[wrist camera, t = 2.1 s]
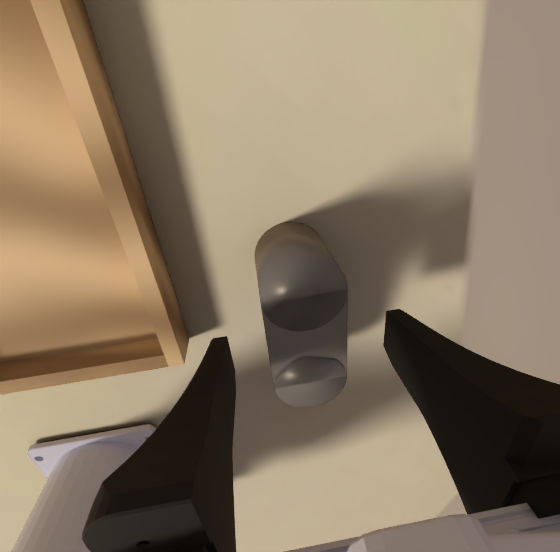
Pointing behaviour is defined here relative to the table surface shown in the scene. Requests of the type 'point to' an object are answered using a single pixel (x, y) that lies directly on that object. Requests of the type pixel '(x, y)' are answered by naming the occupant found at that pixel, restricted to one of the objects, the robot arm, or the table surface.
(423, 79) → the table surface
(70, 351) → the oak tray
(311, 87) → the table surface
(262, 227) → the table surface
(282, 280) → the grey rounded long block
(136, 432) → the robot arm
